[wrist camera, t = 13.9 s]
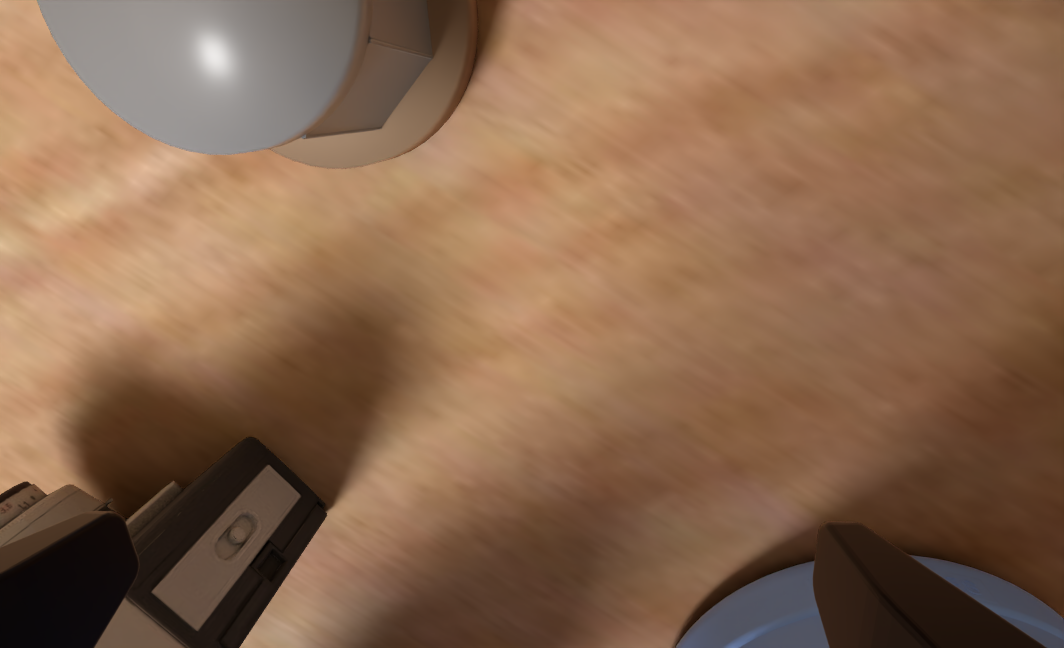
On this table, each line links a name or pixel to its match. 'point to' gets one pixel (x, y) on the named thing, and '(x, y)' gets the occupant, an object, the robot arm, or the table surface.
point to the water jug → (795, 624)
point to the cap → (244, 65)
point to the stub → (408, 98)
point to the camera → (194, 548)
